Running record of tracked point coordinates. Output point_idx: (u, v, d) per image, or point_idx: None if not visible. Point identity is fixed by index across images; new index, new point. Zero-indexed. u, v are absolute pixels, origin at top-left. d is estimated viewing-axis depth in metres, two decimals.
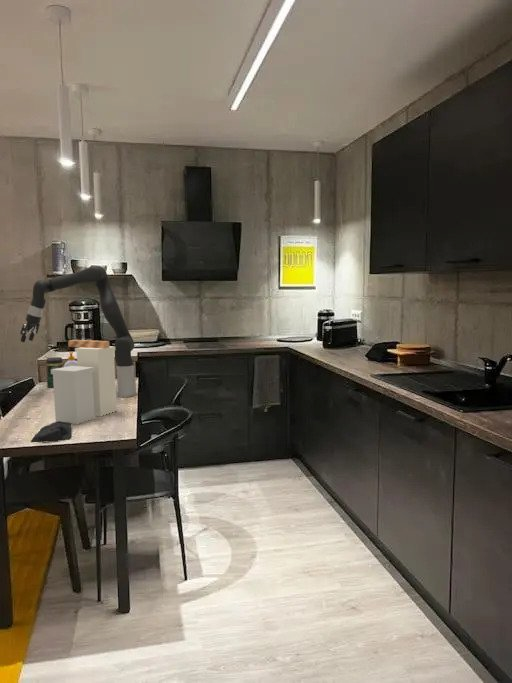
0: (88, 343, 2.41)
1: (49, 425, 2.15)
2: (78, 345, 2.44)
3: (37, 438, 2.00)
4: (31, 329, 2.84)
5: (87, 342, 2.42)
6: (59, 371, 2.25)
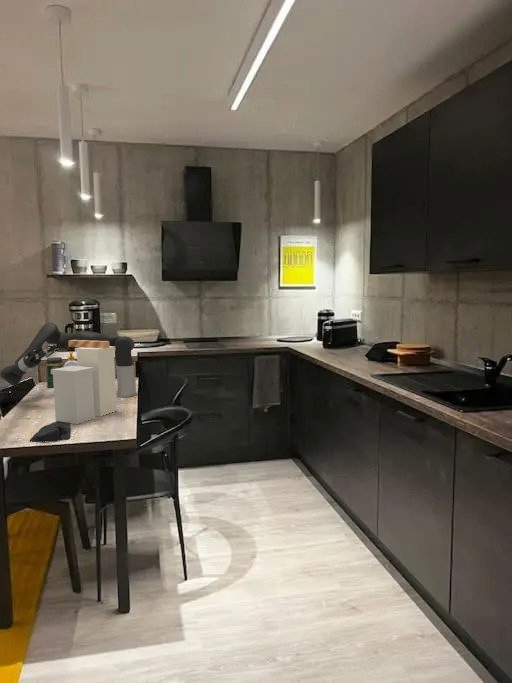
0: (88, 343, 2.41)
1: (48, 425, 2.15)
2: (78, 345, 2.44)
3: (36, 438, 2.00)
4: None
5: (87, 342, 2.42)
6: (59, 371, 2.25)
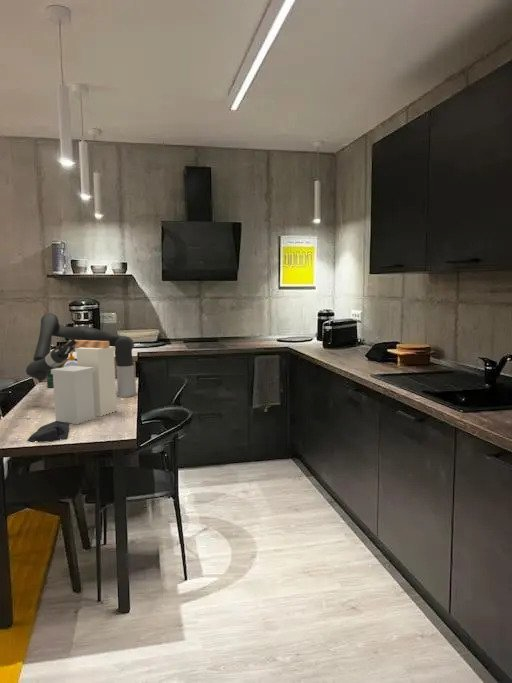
0: (88, 343, 2.41)
1: (47, 425, 2.15)
2: (78, 345, 2.44)
3: (33, 438, 2.00)
4: None
5: (87, 342, 2.42)
6: (59, 371, 2.25)
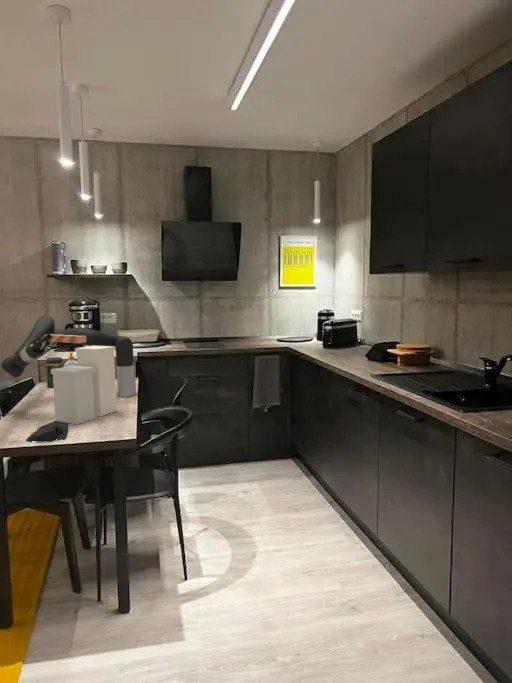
0: (64, 337, 2.28)
1: (46, 425, 2.16)
2: (54, 340, 2.31)
3: (32, 438, 2.01)
4: None
5: (63, 336, 2.28)
6: (59, 371, 2.25)
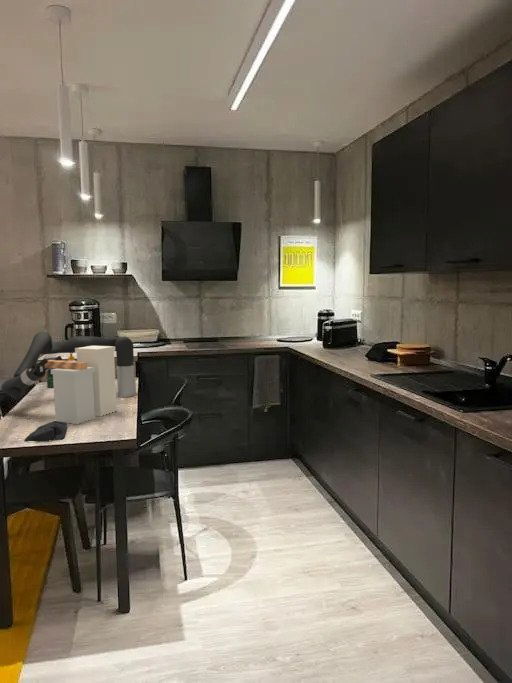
0: (64, 364, 2.29)
1: (45, 425, 2.16)
2: (54, 366, 2.31)
3: (30, 437, 2.01)
4: None
5: (64, 363, 2.29)
6: (59, 371, 2.25)
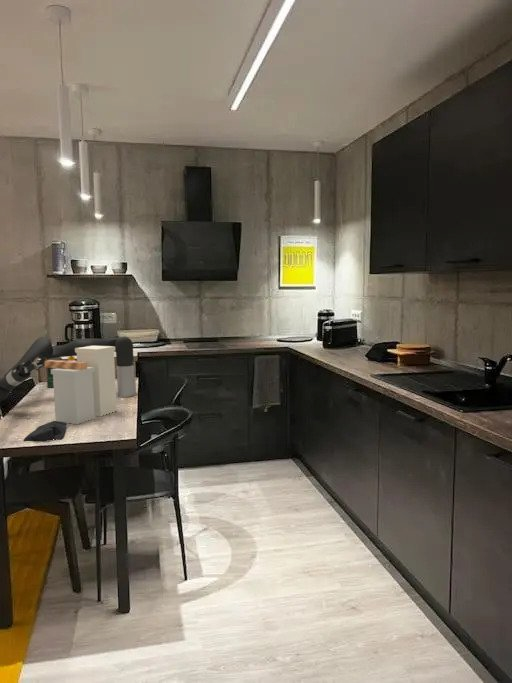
0: (64, 364, 2.29)
1: (44, 424, 2.16)
2: (54, 366, 2.31)
3: (29, 437, 2.01)
4: None
5: (64, 363, 2.29)
6: (59, 371, 2.25)
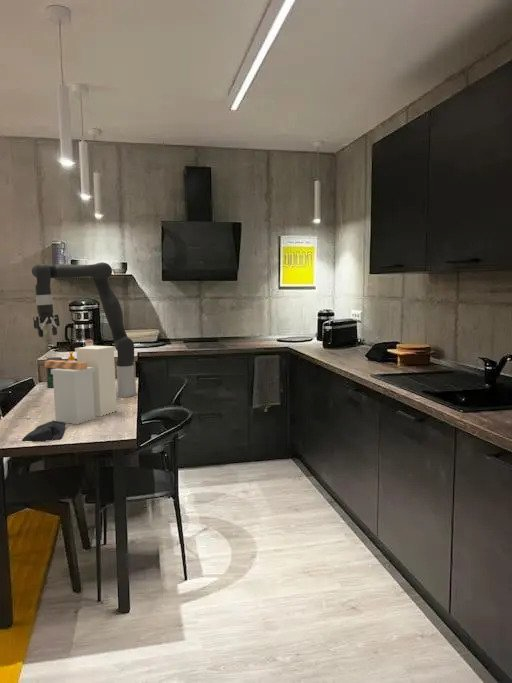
0: (64, 364, 2.29)
1: (43, 424, 2.16)
2: (54, 366, 2.31)
3: (28, 437, 2.01)
4: (46, 320, 2.53)
5: (64, 363, 2.29)
6: (59, 371, 2.25)
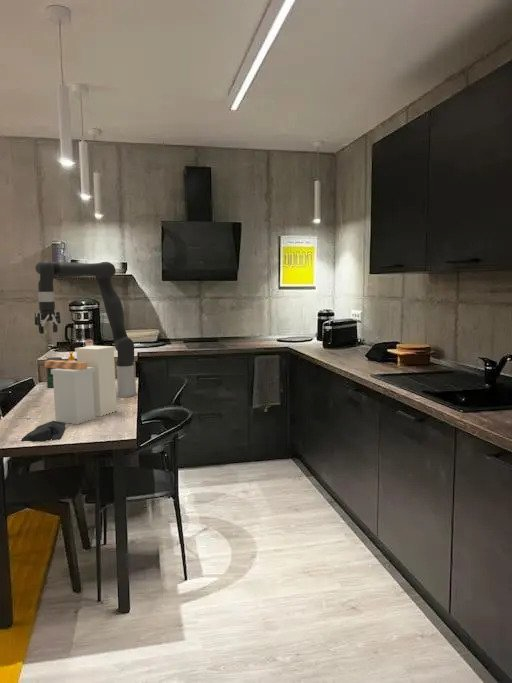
0: (64, 364, 2.29)
1: (43, 424, 2.16)
2: (54, 366, 2.31)
3: (27, 437, 2.01)
4: (47, 317, 2.53)
5: (64, 363, 2.29)
6: (59, 371, 2.25)
